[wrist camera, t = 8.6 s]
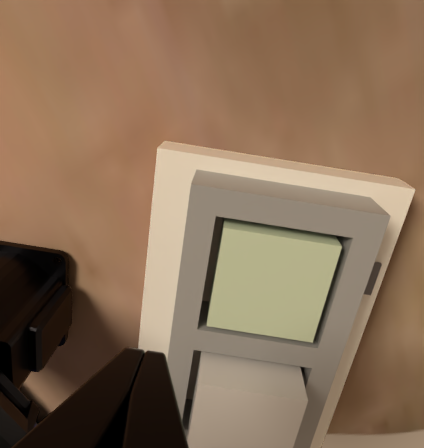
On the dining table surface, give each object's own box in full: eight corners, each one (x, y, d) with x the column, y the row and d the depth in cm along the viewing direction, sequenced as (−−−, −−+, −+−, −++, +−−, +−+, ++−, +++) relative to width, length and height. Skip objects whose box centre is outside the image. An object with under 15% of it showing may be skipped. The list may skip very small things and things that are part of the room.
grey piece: (131, 460, 28) (114, 528, 24) (164, 140, 19) (145, 159, 15) (292, 485, 28) (302, 557, 24) (398, 178, 19) (443, 207, 15)
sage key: (209, 296, 20) (206, 326, 18) (224, 207, 18) (223, 227, 16) (303, 311, 20) (312, 342, 18) (328, 224, 18) (342, 246, 16)
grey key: (189, 418, 21) (184, 460, 19) (201, 346, 19) (197, 383, 17) (278, 432, 21) (283, 475, 19) (299, 361, 19) (308, 401, 17)
